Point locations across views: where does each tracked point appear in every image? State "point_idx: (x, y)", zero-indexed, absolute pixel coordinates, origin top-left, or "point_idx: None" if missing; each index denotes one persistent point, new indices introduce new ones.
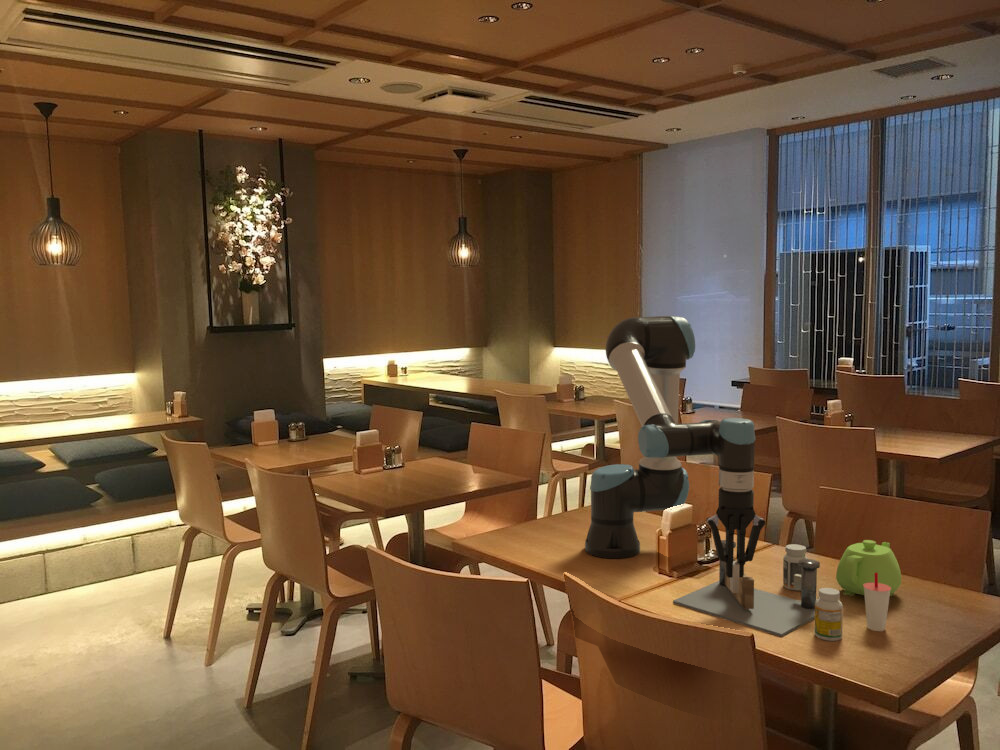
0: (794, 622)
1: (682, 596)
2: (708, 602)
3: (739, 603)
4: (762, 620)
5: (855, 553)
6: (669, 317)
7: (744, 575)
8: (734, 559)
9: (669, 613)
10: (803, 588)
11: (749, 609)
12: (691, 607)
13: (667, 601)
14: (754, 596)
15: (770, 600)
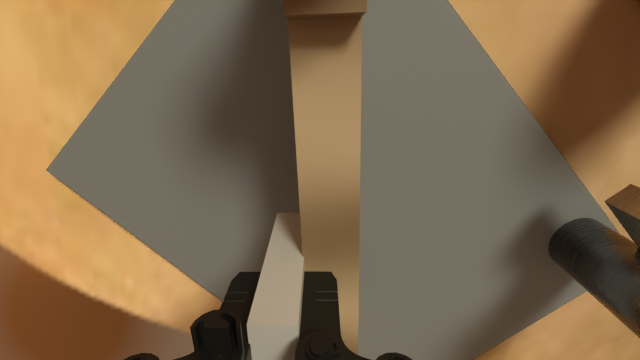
0: (450, 357)
1: (82, 123)
2: (195, 193)
3: None
4: None
5: None
6: None
7: (349, 276)
8: (358, 10)
9: (55, 260)
10: (613, 309)
11: None
12: (128, 227)
13: (29, 145)
14: (410, 129)
15: (460, 178)
